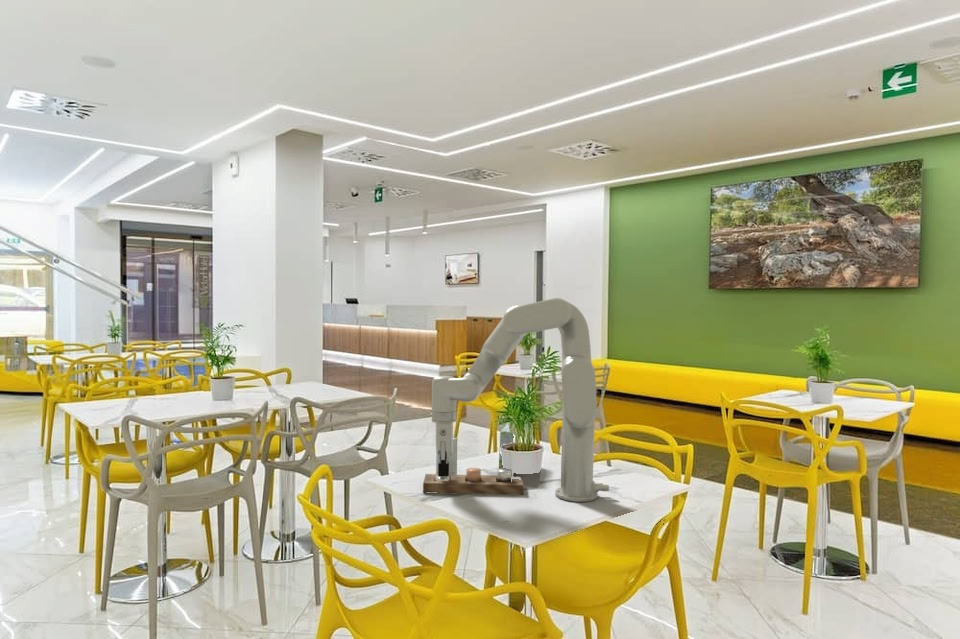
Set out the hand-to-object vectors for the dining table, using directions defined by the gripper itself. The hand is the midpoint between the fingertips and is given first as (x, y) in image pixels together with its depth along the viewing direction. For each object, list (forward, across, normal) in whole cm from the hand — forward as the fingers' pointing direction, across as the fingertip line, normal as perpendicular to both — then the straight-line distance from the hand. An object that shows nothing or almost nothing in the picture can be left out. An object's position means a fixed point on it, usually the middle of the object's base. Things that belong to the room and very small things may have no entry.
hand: (443, 475), depth 198 cm
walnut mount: (+4, 0, -9) cm, 10 cm away
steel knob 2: (+2, 0, -19) cm, 19 cm away
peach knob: (+2, 0, -9) cm, 9 cm away
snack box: (+4, +25, -22) cm, 34 cm away
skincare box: (+4, +17, 0) cm, 18 cm away
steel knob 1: (+4, 0, 0) cm, 4 cm away
